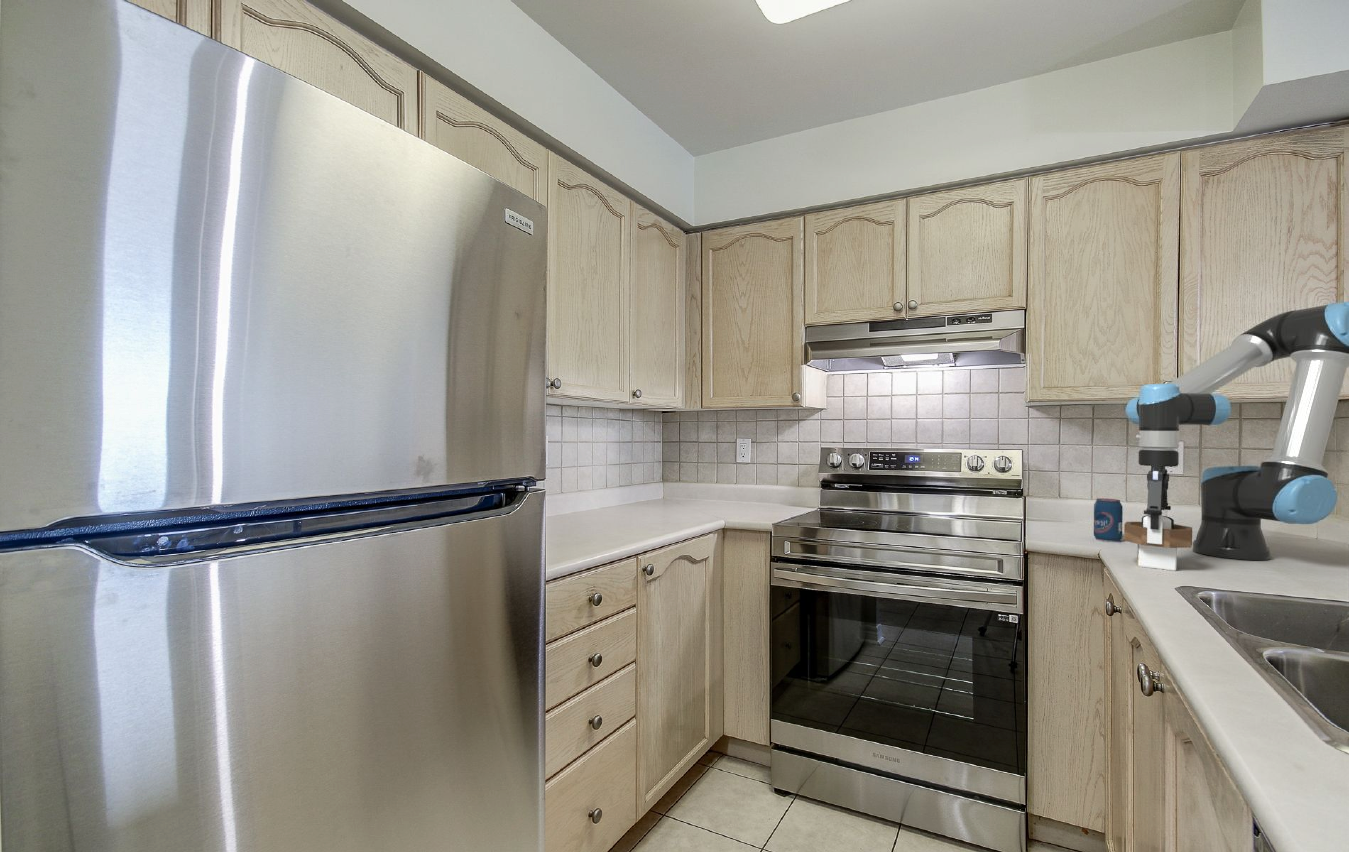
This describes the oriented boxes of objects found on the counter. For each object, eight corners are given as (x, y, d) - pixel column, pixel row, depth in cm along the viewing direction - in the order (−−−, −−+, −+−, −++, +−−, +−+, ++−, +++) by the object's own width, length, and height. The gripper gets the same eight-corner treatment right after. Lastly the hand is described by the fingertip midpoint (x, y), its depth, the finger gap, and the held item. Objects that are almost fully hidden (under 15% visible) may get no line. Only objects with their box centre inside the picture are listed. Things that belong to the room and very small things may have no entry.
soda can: (1088, 539, 185) (1089, 498, 185) (1101, 537, 188) (1101, 497, 189) (1114, 543, 179) (1114, 501, 179) (1127, 541, 182) (1127, 500, 182)
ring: (1160, 537, 155) (1160, 521, 155) (1206, 547, 142) (1206, 530, 142) (1112, 537, 154) (1112, 521, 154) (1154, 547, 141) (1154, 530, 141)
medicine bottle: (1139, 562, 153) (1139, 512, 153) (1176, 566, 149) (1177, 515, 149) (1137, 566, 148) (1137, 515, 148) (1176, 571, 143) (1176, 518, 143)
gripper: (1144, 448, 160) (1143, 532, 160) (1132, 449, 142) (1131, 544, 141) (1182, 449, 155) (1181, 535, 155) (1174, 450, 137) (1173, 549, 136)
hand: (1157, 540), depth 148 cm, fingers closed on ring, 12 cm apart
